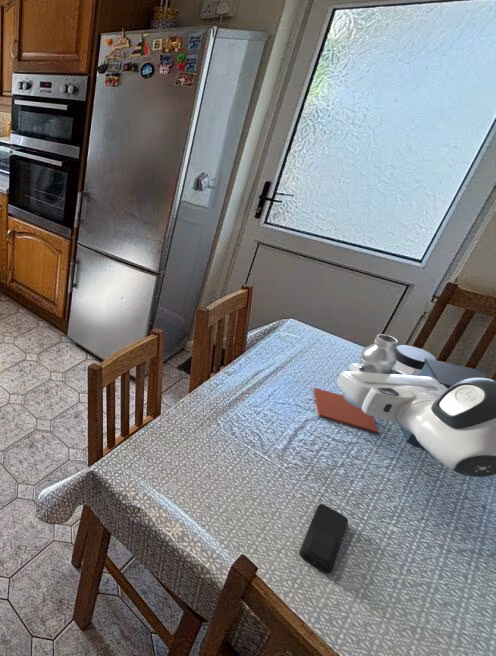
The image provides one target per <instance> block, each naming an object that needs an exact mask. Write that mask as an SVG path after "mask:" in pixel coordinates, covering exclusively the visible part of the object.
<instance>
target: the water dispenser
mask: <svg viewBox="0 0 496 656" xmlns="http://www.w3.org/2000/svg"><path fill="white" fill-rule="evenodd" d="M424 361H425V364H424V366H423V368H422V370H421V372H420V374H419V375H418V376H425V377H432V378H434V379H437V380H438V381H439V383H440V384H443V385H444V386H445V387H446V388H447V389H448V388H450V387H451V386H452V385H454V384H455V383H457V382H459V381H461V380H464V379H468V378H487V376H486V375H485V374H484V373H483V371H482V370H481V369H477V368H473V367H468V366H464V365H458V364H455V363H449V362H446V361H442V360H441V361H440V360H437V359H436V360H433V359H428V358H425V360H424ZM398 425H399V428H400V429H401V432H402V435H403V437H404V440H405V442H406V443H408V444H411V445H414V446H418V447H421V448H424V447H423V446H422V445H421V444H420V443H419V442H418V440H417V439H416V437H415V435H414V434H412V433H411V432H409V431H407V430H406V429H405V428H404V427H403V426H402V425H401V424H398Z"/></svg>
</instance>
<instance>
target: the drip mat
mask: <svg viewBox="0 0 496 656" xmlns="http://www.w3.org/2000/svg"><path fill="white" fill-rule="evenodd" d="M313 393H314V394H313V395H314V398H315V404H316V409H317V410H316V411H317V415H318V417H320V418H324V419H328V420H330V421H333V422H336V423H337V422H338V423H341V424H344V425H347V426H349V427H354V428H357V429H360V430H364V431H367V432H371V433H374V434H378V433H379V430H378V428H377V425H376V422H375V419H374V418H375V417H374V416H370V415H367V414H366V413H364V412H363V411H362V409H360V408H357V407H354V406H352V405H350V404H349V403H347V402H346V401H345V400H344V398H343V395H342V394H339V393H335V392H331V391H327V390H323V389H320V388H317V387H314V388H313Z"/></svg>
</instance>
